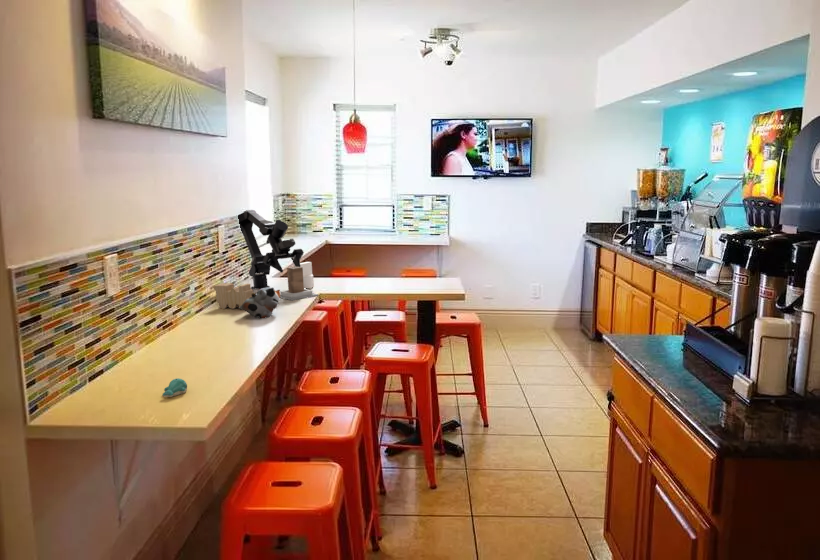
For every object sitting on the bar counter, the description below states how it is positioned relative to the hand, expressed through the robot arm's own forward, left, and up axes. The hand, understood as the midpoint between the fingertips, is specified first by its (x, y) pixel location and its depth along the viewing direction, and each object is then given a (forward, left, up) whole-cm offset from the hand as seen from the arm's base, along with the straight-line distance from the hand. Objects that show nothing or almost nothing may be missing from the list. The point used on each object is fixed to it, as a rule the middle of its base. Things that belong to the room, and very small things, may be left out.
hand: (291, 270), depth 290 cm
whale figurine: (+67, -112, -12) cm, 131 cm away
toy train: (-3, -31, -12) cm, 33 cm away
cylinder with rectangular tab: (-9, +17, -12) cm, 23 cm away
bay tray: (+3, -1, -11) cm, 12 cm away
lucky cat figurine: (+18, -36, -12) cm, 42 cm away
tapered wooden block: (+3, -1, -11) cm, 11 cm away
